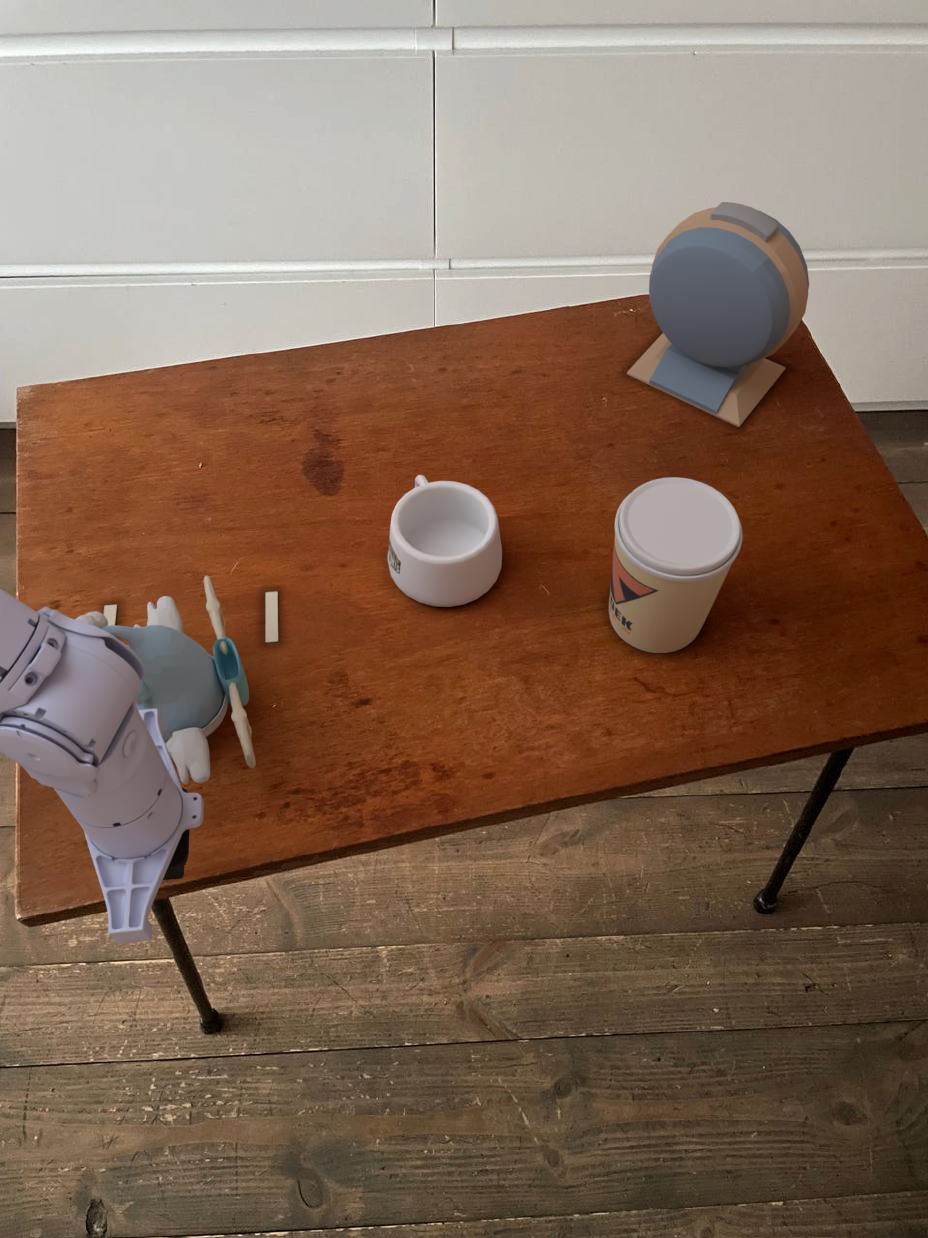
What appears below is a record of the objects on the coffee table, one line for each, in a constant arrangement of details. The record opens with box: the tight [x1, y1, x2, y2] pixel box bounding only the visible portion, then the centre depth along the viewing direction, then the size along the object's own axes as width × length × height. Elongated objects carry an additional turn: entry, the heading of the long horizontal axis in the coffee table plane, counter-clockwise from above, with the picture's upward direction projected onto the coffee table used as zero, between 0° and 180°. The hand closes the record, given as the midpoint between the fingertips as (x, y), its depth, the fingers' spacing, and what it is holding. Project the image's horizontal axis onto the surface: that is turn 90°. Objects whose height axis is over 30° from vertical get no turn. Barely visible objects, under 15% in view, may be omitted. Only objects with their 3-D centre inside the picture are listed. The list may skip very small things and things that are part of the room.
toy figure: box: [74, 574, 257, 786], centre depth 75 cm, size 17×10×15 cm, turn 18°
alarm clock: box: [626, 201, 810, 428], centre depth 97 cm, size 14×10×18 cm
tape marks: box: [103, 591, 279, 644], centre depth 87 cm, size 14×5×1 cm, turn 96°
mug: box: [387, 474, 503, 608], centre depth 88 cm, size 12×10×6 cm
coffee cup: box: [608, 476, 743, 654], centre depth 82 cm, size 9×9×12 cm
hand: (168, 870), depth 72 cm, fingers closed
